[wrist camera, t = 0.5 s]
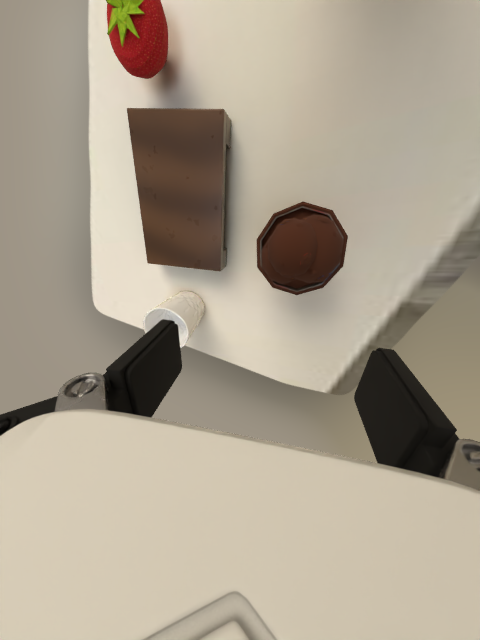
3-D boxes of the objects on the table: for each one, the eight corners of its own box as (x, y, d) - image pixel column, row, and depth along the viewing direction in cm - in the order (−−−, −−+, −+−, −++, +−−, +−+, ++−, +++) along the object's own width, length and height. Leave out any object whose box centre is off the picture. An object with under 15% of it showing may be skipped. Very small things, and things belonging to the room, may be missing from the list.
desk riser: (144, 119, 31) (126, 107, 28) (231, 120, 30) (224, 108, 26) (159, 258, 41) (147, 263, 37) (226, 266, 39) (220, 271, 35)
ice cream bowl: (263, 276, 38) (252, 310, 25) (263, 206, 34) (249, 203, 20) (326, 276, 36) (349, 313, 23) (335, 201, 32) (372, 194, 18)
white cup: (186, 328, 47) (163, 356, 38) (163, 298, 44) (133, 320, 35) (215, 314, 44) (197, 340, 35) (192, 280, 41) (168, 299, 33)
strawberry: (136, 85, 30) (74, 33, 21) (147, 5, 26) (78, -99, 17) (175, 106, 30) (130, 63, 21) (191, 29, 26) (144, -61, 18)
